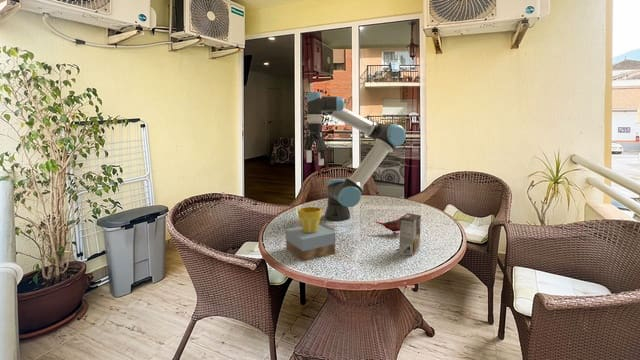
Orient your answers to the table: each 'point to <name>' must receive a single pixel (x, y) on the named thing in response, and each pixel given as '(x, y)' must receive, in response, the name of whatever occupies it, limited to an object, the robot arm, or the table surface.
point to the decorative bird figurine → (392, 225)
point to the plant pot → (310, 218)
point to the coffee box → (409, 234)
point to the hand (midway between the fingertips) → (315, 163)
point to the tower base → (310, 251)
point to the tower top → (310, 238)
